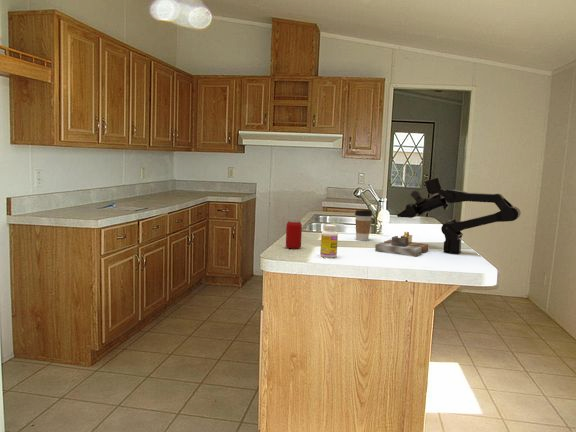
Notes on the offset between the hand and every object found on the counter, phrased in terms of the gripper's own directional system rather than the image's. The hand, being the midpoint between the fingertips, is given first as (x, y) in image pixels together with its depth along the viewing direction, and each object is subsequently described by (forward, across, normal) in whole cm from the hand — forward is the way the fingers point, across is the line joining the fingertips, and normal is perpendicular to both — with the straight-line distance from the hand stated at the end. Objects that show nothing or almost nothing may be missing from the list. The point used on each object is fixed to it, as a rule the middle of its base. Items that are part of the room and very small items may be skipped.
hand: (400, 215), depth 230 cm
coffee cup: (+25, -3, +5) cm, 25 cm away
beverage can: (+36, +40, -1) cm, 54 cm away
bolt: (-1, +8, +13) cm, 15 cm away
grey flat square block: (0, +13, +16) cm, 20 cm away
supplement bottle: (+17, +47, +7) cm, 51 cm away
